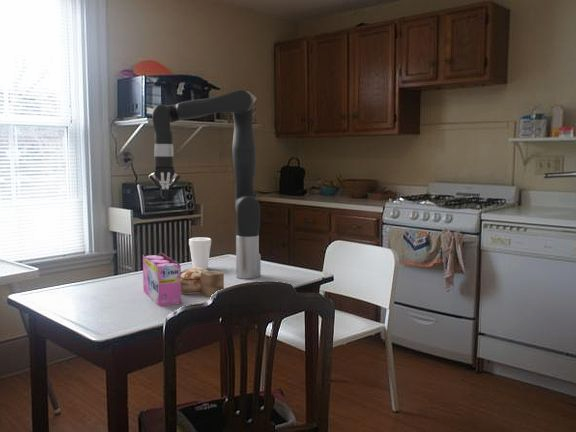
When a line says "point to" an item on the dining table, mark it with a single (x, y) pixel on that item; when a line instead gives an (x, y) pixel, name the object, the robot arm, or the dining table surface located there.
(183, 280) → the trinket box
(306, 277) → the dining table surface
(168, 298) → the gum box
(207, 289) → the walnut block
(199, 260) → the foam cup
